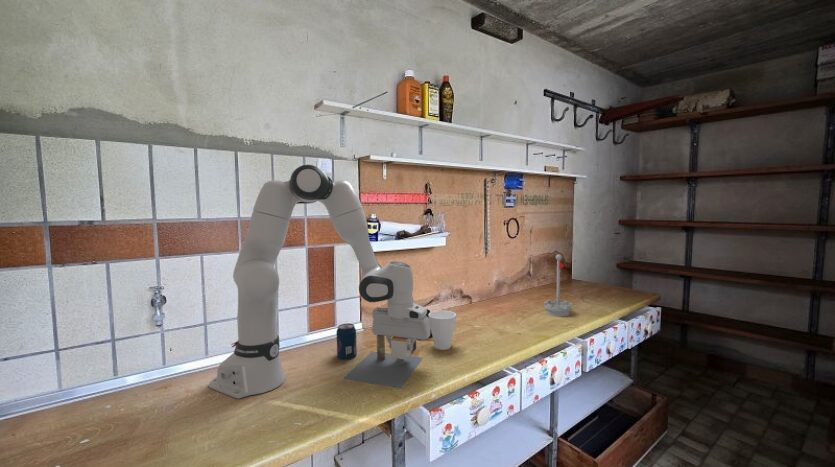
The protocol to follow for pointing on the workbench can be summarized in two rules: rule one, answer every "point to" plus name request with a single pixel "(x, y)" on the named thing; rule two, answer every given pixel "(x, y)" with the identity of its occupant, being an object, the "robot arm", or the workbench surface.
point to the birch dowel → (380, 347)
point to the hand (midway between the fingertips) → (401, 349)
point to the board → (383, 370)
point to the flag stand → (558, 298)
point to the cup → (442, 328)
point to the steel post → (401, 361)
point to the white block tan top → (400, 347)
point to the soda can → (346, 342)
